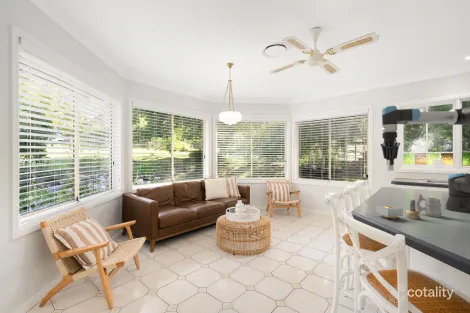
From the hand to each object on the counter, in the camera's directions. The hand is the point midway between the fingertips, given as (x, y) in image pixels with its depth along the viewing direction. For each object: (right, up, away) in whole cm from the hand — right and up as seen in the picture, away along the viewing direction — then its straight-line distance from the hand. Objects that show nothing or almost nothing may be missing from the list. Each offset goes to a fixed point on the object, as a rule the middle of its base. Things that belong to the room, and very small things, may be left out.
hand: (390, 170), depth 141 cm
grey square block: (-7, -25, -9) cm, 27 cm away
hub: (-7, -27, -9) cm, 29 cm away
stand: (+6, -26, -11) cm, 29 cm away
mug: (+19, -26, -5) cm, 33 cm away
